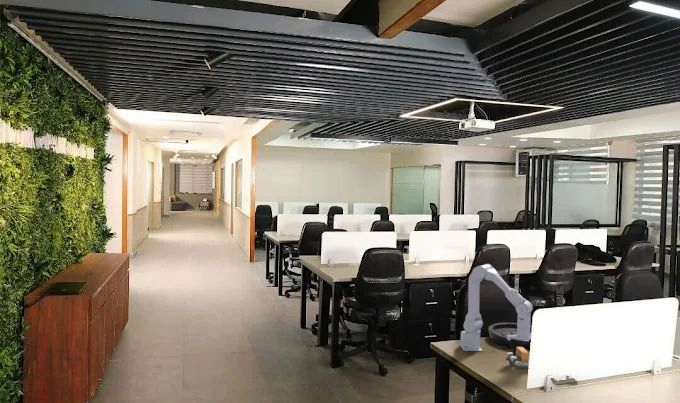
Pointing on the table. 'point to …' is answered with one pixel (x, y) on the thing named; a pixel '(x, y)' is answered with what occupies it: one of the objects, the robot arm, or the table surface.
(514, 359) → the slotted rail
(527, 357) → the orange notched block
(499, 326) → the grey bolted disc
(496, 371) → the table surface
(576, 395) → the table surface
